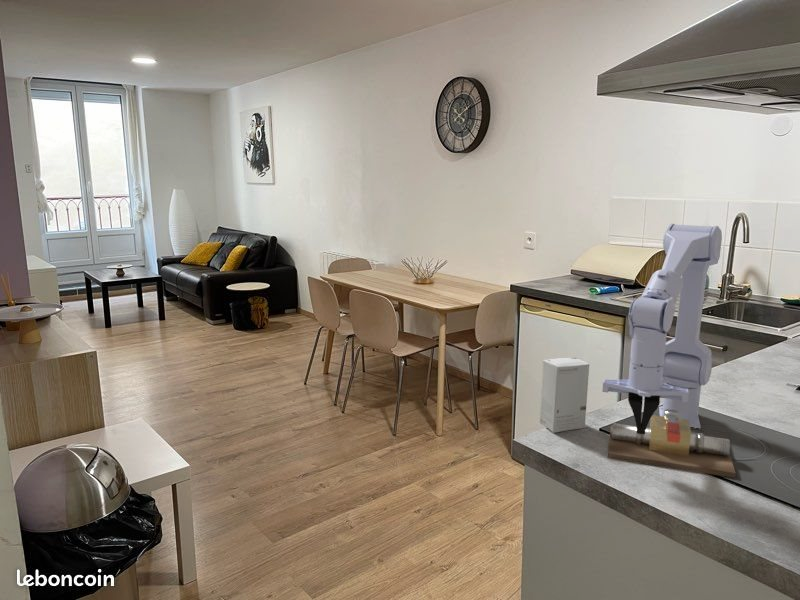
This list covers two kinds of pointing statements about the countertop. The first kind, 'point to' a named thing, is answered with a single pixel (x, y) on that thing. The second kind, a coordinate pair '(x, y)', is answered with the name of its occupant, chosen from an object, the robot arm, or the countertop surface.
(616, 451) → the base board
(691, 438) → the valve housing
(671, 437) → the valve lever
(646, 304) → the robot arm
